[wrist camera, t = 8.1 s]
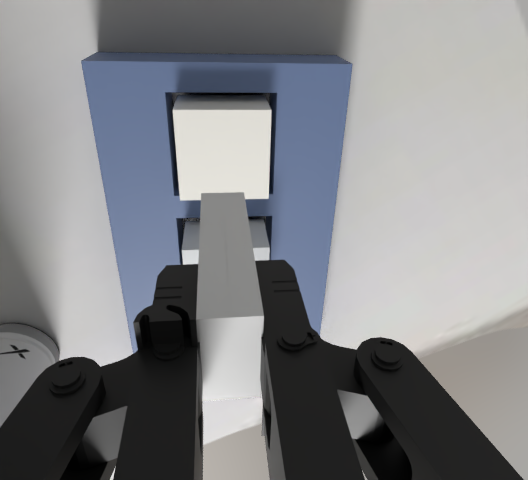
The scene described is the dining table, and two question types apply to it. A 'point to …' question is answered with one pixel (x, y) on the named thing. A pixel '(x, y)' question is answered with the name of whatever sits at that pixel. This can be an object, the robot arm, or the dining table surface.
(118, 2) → the dining table surface
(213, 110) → the key ivory
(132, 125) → the board
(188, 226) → the key grey
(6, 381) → the travel mug
